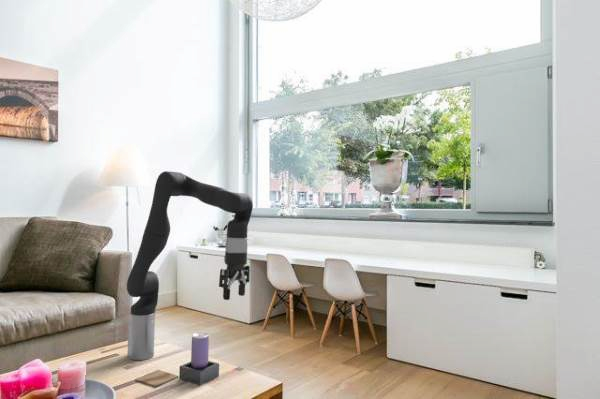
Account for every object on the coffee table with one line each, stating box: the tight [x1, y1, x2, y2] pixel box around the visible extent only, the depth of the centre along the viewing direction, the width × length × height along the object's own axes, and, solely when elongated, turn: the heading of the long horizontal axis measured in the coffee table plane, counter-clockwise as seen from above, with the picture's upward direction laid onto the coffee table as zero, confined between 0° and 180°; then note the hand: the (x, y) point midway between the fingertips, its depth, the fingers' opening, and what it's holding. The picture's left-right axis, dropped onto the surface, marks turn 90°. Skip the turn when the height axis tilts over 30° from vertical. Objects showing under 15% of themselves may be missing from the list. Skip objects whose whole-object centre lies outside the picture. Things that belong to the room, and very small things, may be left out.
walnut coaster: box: [135, 369, 179, 388], centre depth 151 cm, size 10×10×1 cm
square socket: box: [178, 360, 220, 386], centre depth 153 cm, size 10×10×4 cm
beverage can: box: [190, 332, 210, 371], centre depth 153 cm, size 6×6×15 cm
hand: (234, 297), depth 151 cm, fingers open, 8 cm apart
